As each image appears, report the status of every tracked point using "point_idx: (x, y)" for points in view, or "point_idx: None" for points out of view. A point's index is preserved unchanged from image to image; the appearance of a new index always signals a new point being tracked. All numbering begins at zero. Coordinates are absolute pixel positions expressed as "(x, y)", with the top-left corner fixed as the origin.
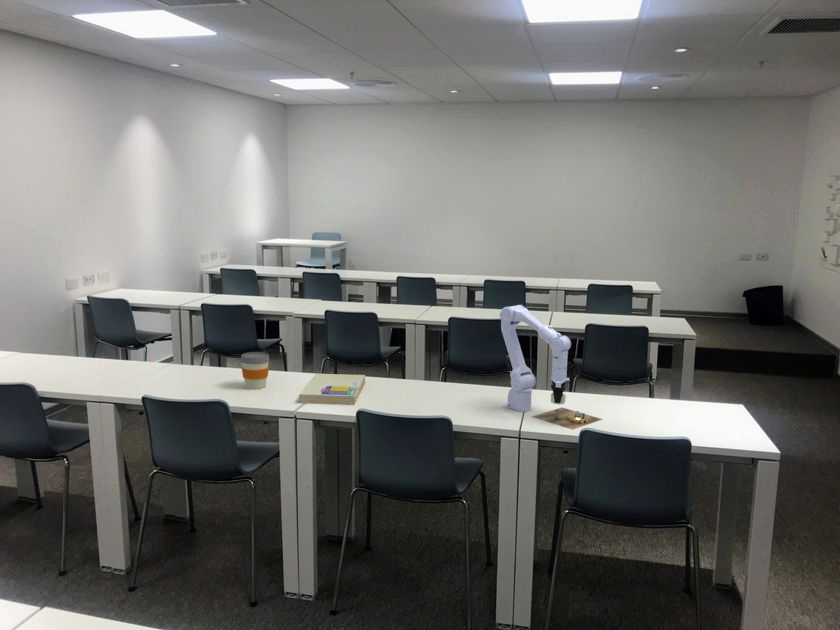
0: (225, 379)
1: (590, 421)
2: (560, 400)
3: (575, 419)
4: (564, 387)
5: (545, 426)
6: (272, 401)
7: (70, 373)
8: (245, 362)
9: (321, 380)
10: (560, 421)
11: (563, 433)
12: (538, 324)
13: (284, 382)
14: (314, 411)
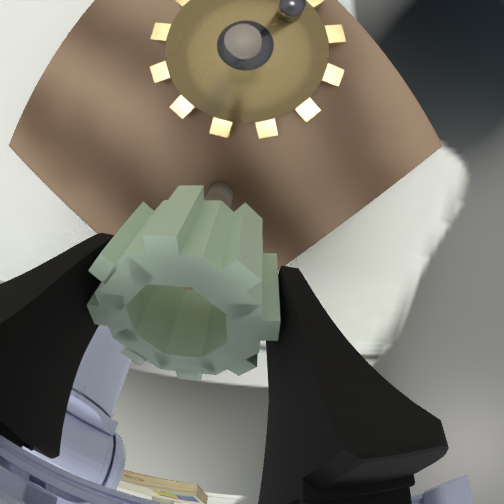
0: (150, 497)
1: None
2: (308, 289)
3: (326, 80)
4: (438, 456)
5: (331, 265)
6: (208, 500)
7: None
8: None
9: (138, 491)
10: (286, 179)
11: (444, 197)
12: None
13: None
14: (237, 496)
